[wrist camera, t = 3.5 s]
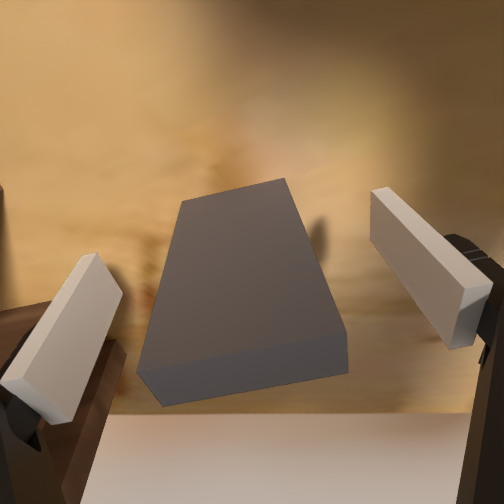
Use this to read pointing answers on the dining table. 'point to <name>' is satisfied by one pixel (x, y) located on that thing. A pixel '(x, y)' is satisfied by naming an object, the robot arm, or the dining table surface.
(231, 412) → the dining table surface
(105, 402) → the domino
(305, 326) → the domino
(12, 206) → the dining table surface
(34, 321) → the domino
